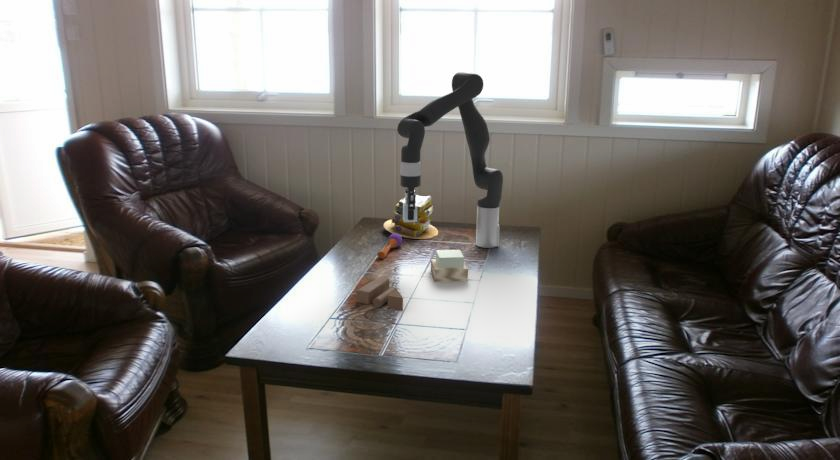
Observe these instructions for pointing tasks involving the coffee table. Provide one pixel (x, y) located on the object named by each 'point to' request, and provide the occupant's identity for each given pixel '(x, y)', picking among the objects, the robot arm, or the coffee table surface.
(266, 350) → the coffee table surface
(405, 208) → the blue block
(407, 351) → the coffee table surface
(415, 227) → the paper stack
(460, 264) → the tower top
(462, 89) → the robot arm
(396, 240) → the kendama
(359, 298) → the wooden block set
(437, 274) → the tower base
